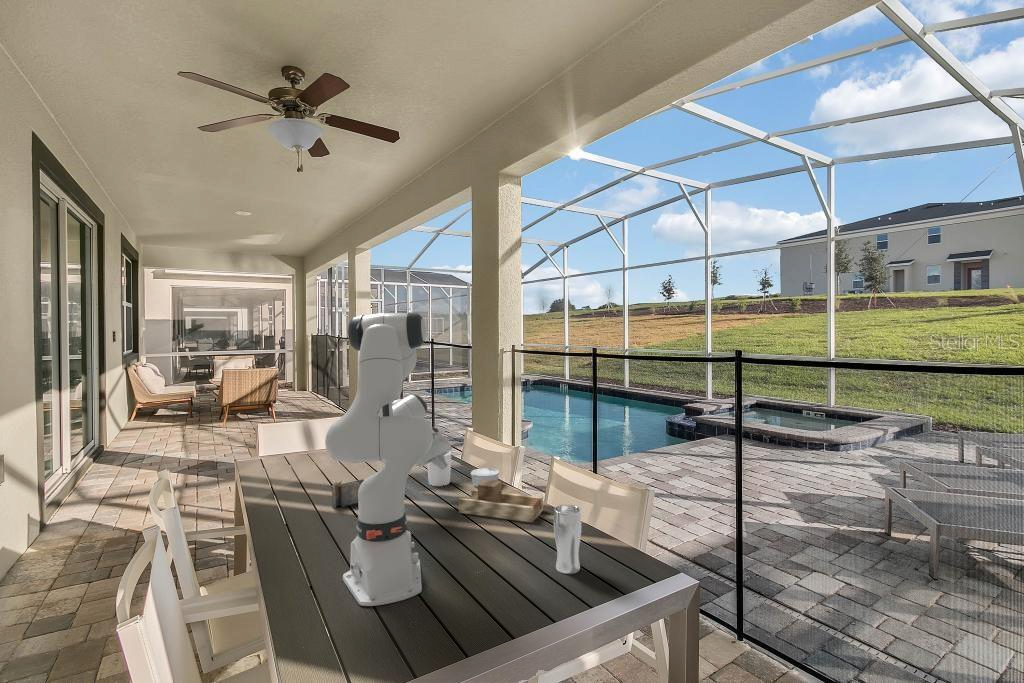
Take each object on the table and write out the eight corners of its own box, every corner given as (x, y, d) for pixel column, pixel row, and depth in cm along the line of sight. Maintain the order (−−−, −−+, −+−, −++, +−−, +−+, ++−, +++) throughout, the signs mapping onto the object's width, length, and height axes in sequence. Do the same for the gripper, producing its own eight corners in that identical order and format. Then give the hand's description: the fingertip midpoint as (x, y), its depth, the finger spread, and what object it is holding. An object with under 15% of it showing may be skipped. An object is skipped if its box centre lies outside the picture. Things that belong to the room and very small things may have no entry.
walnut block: (478, 508, 159) (477, 484, 159) (485, 502, 165) (485, 479, 165) (494, 510, 157) (494, 486, 157) (501, 504, 163) (501, 481, 163)
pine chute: (458, 512, 159) (458, 499, 159) (473, 501, 170) (473, 489, 169) (532, 522, 150) (532, 508, 150) (543, 510, 160) (542, 497, 160)
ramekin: (505, 484, 189) (505, 471, 189) (484, 491, 181) (484, 477, 181) (485, 479, 197) (485, 466, 197) (465, 485, 189) (465, 472, 189)
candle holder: (456, 481, 193) (456, 452, 193) (440, 488, 185) (440, 457, 185) (438, 478, 198) (437, 449, 198) (421, 484, 190) (421, 454, 190)
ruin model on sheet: (335, 510, 164) (335, 482, 164) (332, 508, 166) (331, 480, 166) (366, 502, 172) (366, 475, 172) (363, 500, 174) (362, 473, 174)
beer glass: (574, 577, 115) (574, 516, 115) (549, 570, 119) (548, 510, 119) (586, 565, 121) (585, 507, 121) (561, 559, 125) (560, 502, 125)
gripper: (409, 438, 160) (435, 469, 157) (440, 427, 179) (463, 455, 176) (398, 450, 162) (424, 482, 158) (430, 438, 181) (453, 466, 177)
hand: (445, 467), depth 167 cm, fingers closed
